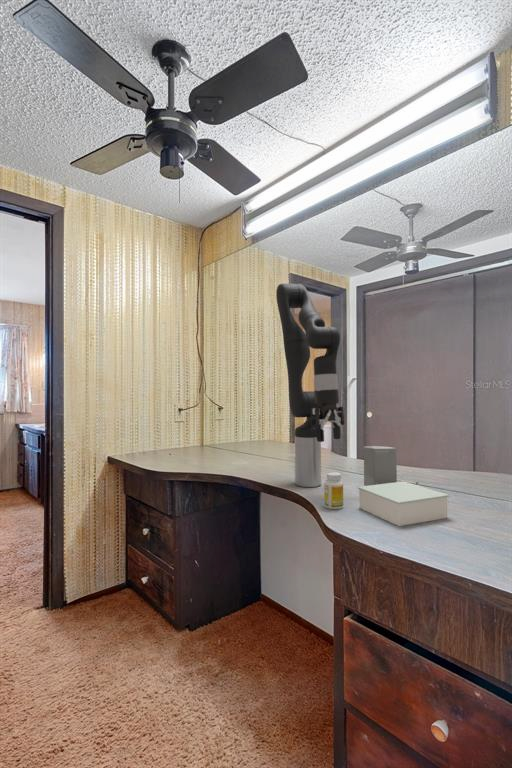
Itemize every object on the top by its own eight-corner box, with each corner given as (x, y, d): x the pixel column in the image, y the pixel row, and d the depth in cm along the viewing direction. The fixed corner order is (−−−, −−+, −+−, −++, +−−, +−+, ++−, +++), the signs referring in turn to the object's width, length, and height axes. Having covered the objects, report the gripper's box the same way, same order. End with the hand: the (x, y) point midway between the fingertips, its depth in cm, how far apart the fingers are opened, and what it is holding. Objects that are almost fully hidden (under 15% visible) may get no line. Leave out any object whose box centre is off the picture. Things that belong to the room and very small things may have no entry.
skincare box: (374, 501, 119) (374, 448, 119) (362, 495, 126) (361, 445, 126) (399, 498, 121) (398, 447, 121) (385, 492, 128) (384, 444, 128)
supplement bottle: (321, 507, 113) (320, 474, 113) (329, 503, 117) (329, 471, 118) (338, 510, 110) (338, 476, 110) (346, 506, 114) (345, 473, 114)
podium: (358, 507, 112) (357, 486, 112) (403, 501, 118) (403, 481, 118) (398, 526, 97) (398, 502, 97) (449, 518, 103) (448, 495, 103)
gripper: (330, 389, 132) (332, 438, 131) (302, 389, 122) (305, 442, 121) (349, 388, 127) (352, 438, 126) (321, 388, 117) (324, 443, 116)
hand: (329, 440), depth 124 cm, fingers open, 8 cm apart
